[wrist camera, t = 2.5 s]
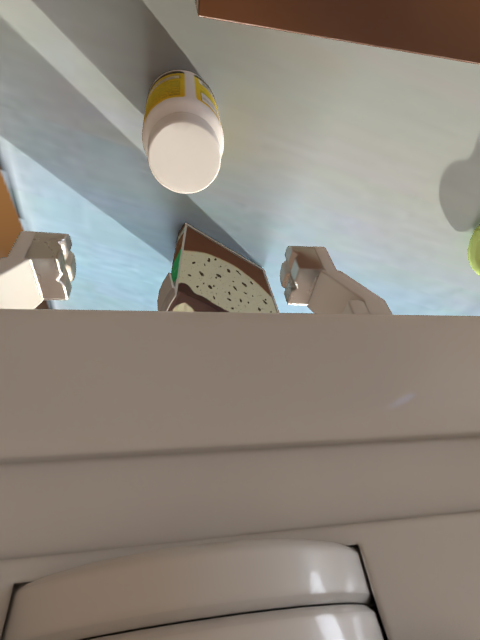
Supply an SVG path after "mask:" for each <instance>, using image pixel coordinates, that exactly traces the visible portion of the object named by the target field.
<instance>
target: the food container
mask: <svg viewBox="0 0 480 640" xmlns="http://www.w3.org/2000/svg"><path fill="white" fill-rule="evenodd" d="M157 302H158V311H181V312H245V313H279V310H278V308H277V305H276V302H275V299H274V296H273V293H272V291H271V288H270V285H269V282H268V279H267V276H266V274H265V271H264V269H263V268H261V267H260V266H258V265H256V264H255V263H253V262H251V261H249V260H248V259H246V258H244V257H243V256H241V255H239V254H238V253H236V252H234V251H233V250H231V249H229V248H228V247H226V246H224V245H223V244H221V243H219V242H218V241H216V240H214V239H212V238H211V237H209V236H207V235H206V234H204V233H202V232H201V231H199V230H197V229H196V228H194V227H192V226H191V225H189V224H187V223H186V222H185V224H184V225H183V227H182V228H181V230H180V232H179V235H178V239H177V244H176V248H175V254H174V260H173V265H172V271H171V273H168V275H167V276H166V278H165V280H164V281H163V283H162V286H161V288H160V290H159V295H158V300H157Z"/></svg>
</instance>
